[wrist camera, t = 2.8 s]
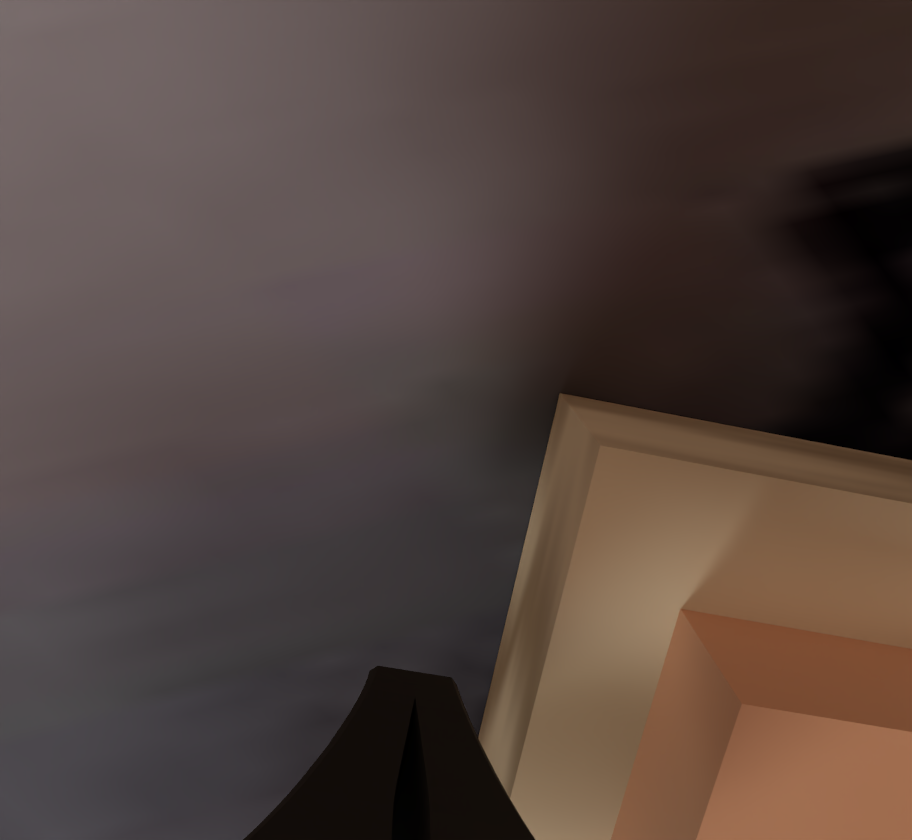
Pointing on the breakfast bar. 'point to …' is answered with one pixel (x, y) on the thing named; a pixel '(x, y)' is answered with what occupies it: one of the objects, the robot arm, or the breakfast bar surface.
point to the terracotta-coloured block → (773, 738)
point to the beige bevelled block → (672, 583)
